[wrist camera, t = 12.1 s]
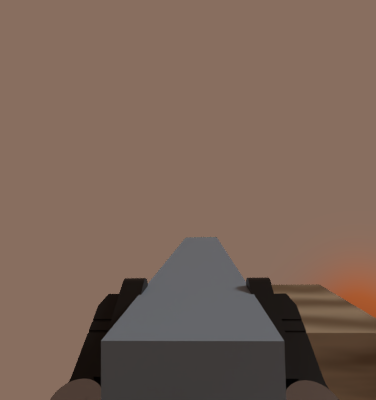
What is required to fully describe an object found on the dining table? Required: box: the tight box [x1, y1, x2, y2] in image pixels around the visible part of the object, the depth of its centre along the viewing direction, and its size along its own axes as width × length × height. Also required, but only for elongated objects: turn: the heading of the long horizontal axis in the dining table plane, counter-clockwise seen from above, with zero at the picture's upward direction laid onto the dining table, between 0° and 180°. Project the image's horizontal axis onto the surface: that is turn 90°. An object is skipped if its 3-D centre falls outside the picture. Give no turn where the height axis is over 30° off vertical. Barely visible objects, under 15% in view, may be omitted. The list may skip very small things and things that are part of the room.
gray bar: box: [101, 237, 286, 400], centre depth 21 cm, size 30×4×4 cm, turn 177°
